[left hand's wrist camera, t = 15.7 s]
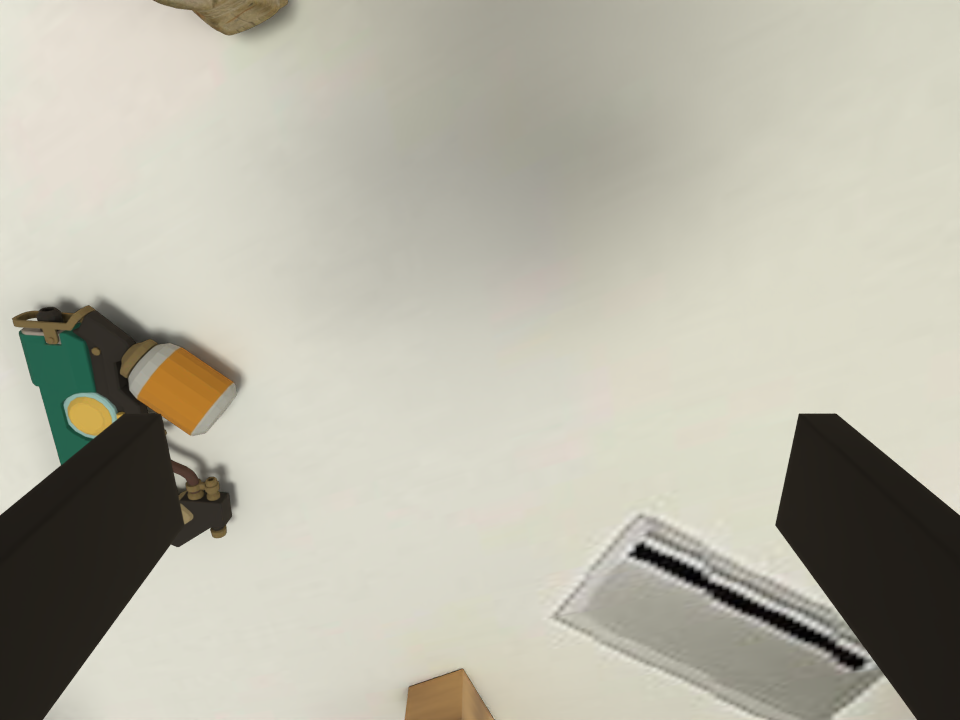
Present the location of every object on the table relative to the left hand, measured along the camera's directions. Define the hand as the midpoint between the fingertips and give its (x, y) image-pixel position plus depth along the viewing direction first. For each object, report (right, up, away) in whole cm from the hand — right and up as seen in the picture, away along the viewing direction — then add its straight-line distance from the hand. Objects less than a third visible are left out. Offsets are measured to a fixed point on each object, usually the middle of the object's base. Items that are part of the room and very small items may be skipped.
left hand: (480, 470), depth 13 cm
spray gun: (-23, -2, +30) cm, 38 cm away
